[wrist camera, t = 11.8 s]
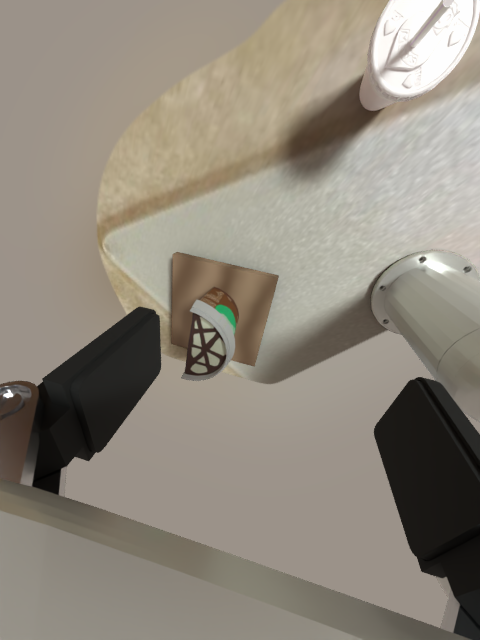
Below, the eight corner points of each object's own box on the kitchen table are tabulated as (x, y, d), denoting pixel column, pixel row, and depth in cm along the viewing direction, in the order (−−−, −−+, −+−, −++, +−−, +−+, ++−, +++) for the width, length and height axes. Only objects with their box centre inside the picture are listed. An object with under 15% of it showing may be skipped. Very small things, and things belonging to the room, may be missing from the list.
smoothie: (334, 82, 24) (372, -19, 13) (400, 21, 22) (530, -184, 10) (361, 141, 26) (416, 103, 14) (424, 92, 23) (559, -6, 12)
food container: (237, 351, 41) (221, 394, 32) (204, 341, 41) (180, 380, 33) (254, 289, 34) (241, 322, 26) (215, 277, 35) (190, 306, 26)
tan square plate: (279, 272, 36) (277, 279, 33) (256, 356, 44) (254, 366, 42) (181, 249, 37) (172, 254, 34) (178, 335, 46) (171, 343, 43)
